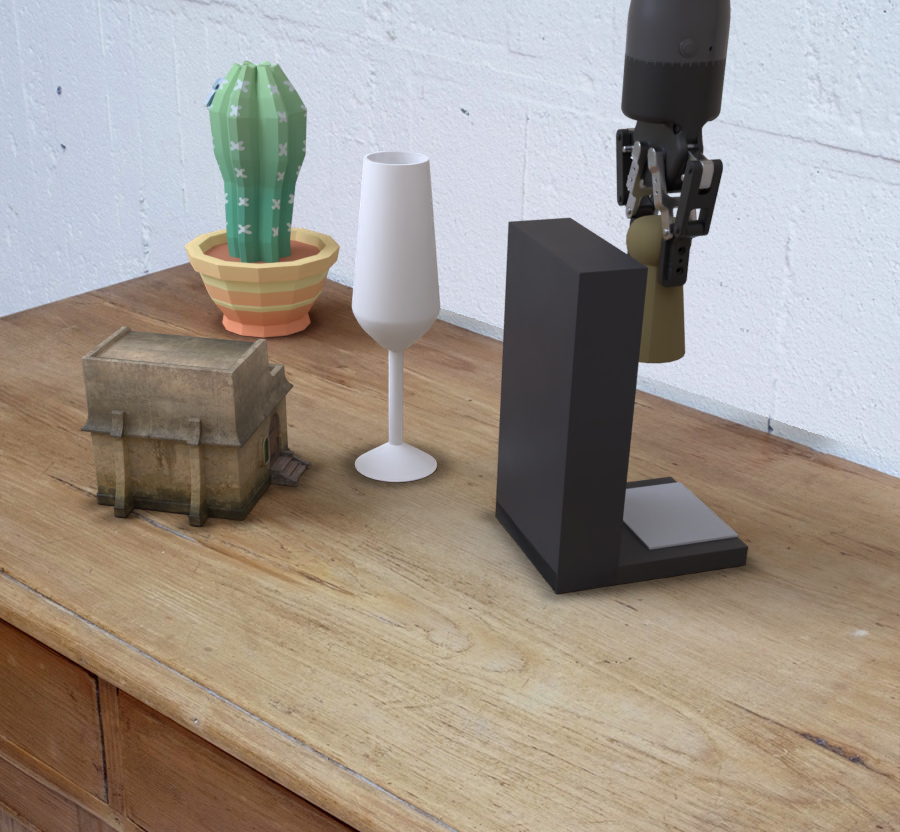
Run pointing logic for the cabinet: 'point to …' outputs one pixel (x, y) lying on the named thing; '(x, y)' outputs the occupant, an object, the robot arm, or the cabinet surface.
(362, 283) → the champagne flute
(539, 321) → the coffee maker
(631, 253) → the olive pawn figure
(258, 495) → the miniature house
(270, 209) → the potted cactus
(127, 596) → the cabinet surface
